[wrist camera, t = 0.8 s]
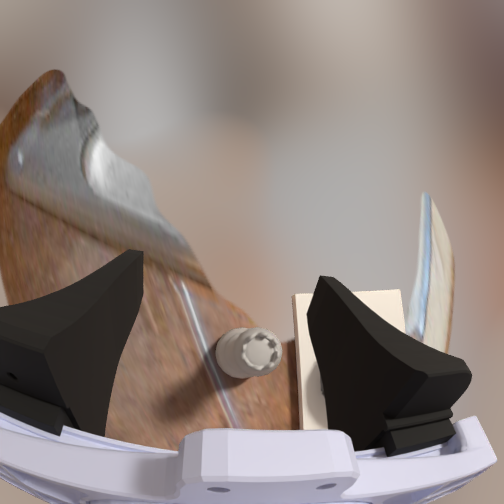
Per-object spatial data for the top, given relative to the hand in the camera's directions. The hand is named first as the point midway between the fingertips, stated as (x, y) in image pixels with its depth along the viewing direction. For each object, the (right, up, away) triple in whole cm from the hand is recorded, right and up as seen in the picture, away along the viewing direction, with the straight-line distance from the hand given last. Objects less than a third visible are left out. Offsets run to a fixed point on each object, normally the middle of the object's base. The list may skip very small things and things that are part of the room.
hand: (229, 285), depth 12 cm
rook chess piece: (0, -7, +14) cm, 16 cm away
